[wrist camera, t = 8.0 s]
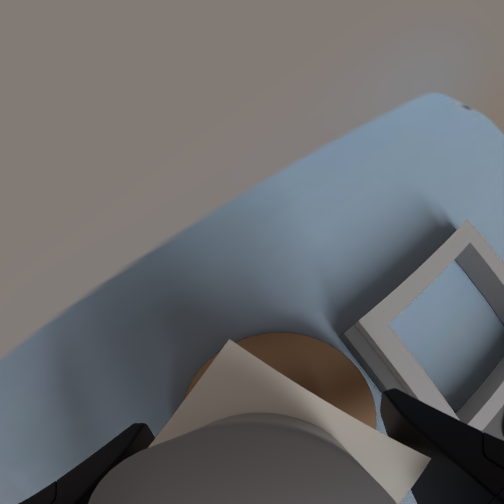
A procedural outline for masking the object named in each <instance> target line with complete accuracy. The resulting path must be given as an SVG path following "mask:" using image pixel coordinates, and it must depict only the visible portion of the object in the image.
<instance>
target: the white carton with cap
mask: <svg viewBox="0 0 504 504" xmlns="http://www.w3.org/2000/svg"><path fill="white" fill-rule="evenodd" d="M430 460H431V458H429V457H427V456H425V455H423V454H421V453H419V452H417V451H415V450H413V449H411V448H409V447H407V446H405V445H403V444H401V443H399V442H398V441H396V440H394V439H392V438H390V437H388V436H386V435H384V434H382V433H381V432H379V431H377V430H375V429H373V428H371V427H370V426H368V425H366V424H364V423H362V422H361V421H359V420H357V419H355V418H354V417H352V416H350V415H348V414H347V413H345V412H343V411H341V410H340V409H338V408H336V407H335V406H333V405H331V404H329V403H328V402H326V401H324V400H323V399H321V398H319V397H318V396H316V395H315V394H313V393H311V392H310V391H308V390H306V389H305V388H303V387H302V386H300V385H298V384H297V383H295V382H294V381H292V380H290V379H289V378H287V377H286V376H284V375H283V374H281V373H279V372H278V371H276V370H275V369H273V368H272V367H270V366H269V365H267V364H266V363H264V362H263V361H261V360H260V359H258V358H257V357H255V356H254V355H252V354H251V353H249V352H248V351H246V350H245V349H243V348H242V347H240V346H239V345H237V344H236V343H235V342H233V341H232V340H230V339H229V340H228V341H227V343H226V344H225V346H224V347H223V348H222V350H221V351H220V352H219V354H218V355H217V357H216V358H215V359H214V361H213V362H212V363H211V365H210V366H209V367H208V369H207V370H206V372H205V373H204V374H203V376H202V377H201V378H200V380H199V381H198V382H197V384H196V385H195V386H194V388H193V389H192V390H191V392H190V393H189V394H188V396H187V397H186V398H185V400H184V401H183V402H182V404H181V405H180V406H179V408H178V409H177V410H176V412H175V413H174V414H173V416H172V417H171V418H170V420H169V421H168V422H167V424H166V425H165V426H164V427H163V429H162V430H161V431H160V433H159V434H158V435H157V437H156V438H155V439H154V440H153V442H152V443H151V444H150V446H149V447H148V448H147V449H144V450H142V451H139V452H137V453H136V454H134V455H132V456H130V457H128V458H127V459H125V460H123V461H122V462H121V463H119V464H118V465H117V466H115V467H114V468H113V469H111V470H110V471H109V472H108V473H107V474H106V476H105V477H104V478H103V479H102V480H101V481H100V482H99V484H98V485H97V487H96V488H95V490H94V492H93V493H92V495H91V497H90V500H89V503H88V504H400V503H401V501H402V500H403V499H404V497H405V496H406V495H407V493H408V492H409V491H410V489H411V488H412V486H413V485H414V484H415V482H416V481H417V479H418V478H419V476H420V475H421V473H422V472H423V470H424V469H425V467H426V466H427V464H428V463H429V461H430Z"/></svg>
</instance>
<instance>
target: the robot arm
mask: <svg viewBox="0 0 504 504" xmlns="http://www.w3.org/2000/svg"><path fill="white" fill-rule="evenodd" d="M380 412H381V417H382V420H383V423H384V426H385V429H386V432H387V435H388V437H390V438H392V439H394V440H396V441H398V442H399V443H401V444H403V445H405V446H407V447H409V448H411V449H413V450H415V451H417V452H419V453H421V454H423V455H425V456H427V457H429V458H431V460H430V461H429V463H428V464H427V466H426V467H425V469H424V470H423V472H422V473H421V475H420V476H419V478H418V479H417V481H416V482H415V484H414V485H413V486H412V488H411V491H412V493H413V495H414V497H415V500H416V502H417V504H504V440H501V439H499V438H497V437H494V436H492V435H490V434H488V433H486V432H484V433H483V432H482V431H480V430H478V429H476V428H474V427H472V426H470V425H468V424H466V423H464V422H462V421H460V420H458V419H456V418H454V417H452V416H450V415H448V414H446V413H444V412H442V411H440V410H438V409H436V408H434V407H432V406H430V405H428V404H426V403H424V402H422V401H420V400H418V399H416V398H414V397H412V396H410V395H408V394H406V393H404V392H403V391H401V390H399V389H397V388H392V389H388V390H385V391H383V393H382V399H381V406H380ZM154 439H155V437H154V435H153V434H152V432H151V431H150V429H149V427H148V426H147V425H146V424H144V423H134V424H132V425H131V426H130V427H128V428H127V429H126V430H125V431H123V432H122V433H121V434H119V435H118V436H117V437H115V438H114V439H113V440H111V441H110V442H109V443H108V444H106V445H105V446H104V447H102V448H101V449H100V450H98V451H97V452H96V453H94V454H93V455H91V456H90V457H89V458H87V459H86V460H85V461H83V462H82V463H81V464H79V465H78V466H76V467H75V468H74V469H72V470H71V471H69V472H68V473H67V474H65V475H64V476H62V477H61V478H60V479H58V480H57V482H56V481H55V482H53V483H52V484H50V485H49V486H47V487H46V488H44V489H43V490H41V491H40V492H38V493H37V494H35V495H33V496H31V497H30V498H28V499H26V500H24V501H22V502H21V503H19V504H88V503H89V500H90V497H91V495H92V493H93V492H94V490H95V488H96V487H97V485H98V484H99V482H100V481H101V480H102V479H103V478H104V477H105V476H106V474H107V473H108V472H109V471H110V470H111V469H113V468H114V467H115V466H117V465H118V464H119V463H121V462H122V461H123V460H125V459H127V458H128V457H130V456H132V455H134V454H136V453H137V452H139V451H142V450H144V449H147V448H148V447H149V446H150V444H151V443H152V442H153V440H154Z"/></svg>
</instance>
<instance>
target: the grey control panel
mask: <svg viewBox="0 0 504 504" xmlns="http://www.w3.org/2000/svg"><path fill="white" fill-rule="evenodd" d="M454 259H455V260H456V261H457V263H458V264H459V265H460V266H461V268H462V269H463V270H464V271H465V273H466V274H467V275H468V276H469V278H470V279H471V280H472V281H473V283H474V284H475V285H476V287H477V288H478V289H479V291H480V292H481V293H482V295H483V296H484V297H485V299H486V300H487V301H488V303H489V304H490V305H491V307H492V308H493V310H494V311H495V312H496V314H497V315H498V317H499V318H500V320H501V321H502V323H503V324H504V263H503V262H502V261H501V259H500V258H499V257H498V255H497V254H496V253H495V252H494V250H493V249H492V248H491V247H490V245H489V244H488V243H487V242H486V240H485V239H484V238H483V237H482V236H481V234H480V233H479V232H478V231H477V230H476V228H475V227H474V226H473V225H472V224H471V223H470V222H469V220H468V219H467V220H466V221H465V222H464V223H463V224H462V225H461V226H460V227H459V228H458V229H457V230H456V231H455V232H454V233H453V234H452V236H451V237H450V238H449V239H448V240H447V241H446V242H445V243H444V244H443V245H442V246H441V247H440V248H439V249H438V250H437V251H436V252H435V253H433V254H432V255H431V256H430V257H429V258H428V259H427V260H426V261H425V262H424V263H423V264H422V265H421V266H420V267H419V268H418V269H417V270H416V271H415V272H414V273H412V274H411V275H410V276H409V277H408V278H407V279H406V280H405V281H404V282H403V283H402V284H400V285H399V286H398V287H397V288H396V289H395V290H394V291H393V292H391V293H390V294H389V295H388V296H387V297H386V298H385V299H383V300H382V301H381V302H380V303H379V304H378V305H376V306H375V307H374V308H373V309H372V310H371V311H369V312H368V313H367V314H366V315H365V316H363V317H362V318H361V319H360V320H359V321H357V322H356V323H355V324H354V325H353V326H352V327H351V328H349V329H348V330H347V331H346V332H344V333H343V334H342V335H341V336H340V337H339V338H340V339H341V340H342V342H343V343H344V344H345V345H346V347H347V348H348V349H349V351H350V352H351V353H352V354H353V356H354V357H355V358H356V360H357V361H358V362H359V363H360V365H361V366H362V367H363V369H364V370H365V371H366V373H367V374H368V375H369V376H370V378H371V379H372V380H373V382H374V383H375V384H376V386H377V387H378V388H379V389H380V391H381V392H382V393H383V391H385V390H388V389H392V388H397V389H399V390H401V391H403V392H404V393H406V394H408V395H410V396H412V397H414V398H416V399H418V400H420V401H422V402H424V403H426V404H428V405H430V406H432V407H434V408H436V409H438V410H440V411H442V412H444V413H446V414H448V415H450V416H452V417H454V418H456V419H458V420H460V421H462V422H464V423H466V424H468V425H470V426H472V427H474V428H476V429H478V430H480V431H482V432H483V433H484V432H486V433H488V434H490V435H492V436H494V437H497V438H499V439H501V440H504V356H503V358H502V359H501V360H500V362H499V363H498V364H497V366H496V367H495V368H494V369H493V371H492V372H491V373H490V375H489V376H488V377H487V378H486V379H485V381H484V382H483V383H482V384H481V386H480V387H479V388H478V389H477V390H476V391H475V393H474V394H473V395H472V396H471V397H470V398H469V399H468V401H467V402H466V403H465V404H464V405H463V406H462V407H461V408H460V409H459V410H458V412H457V413H456V414H455V413H454V411H453V410H452V408H451V407H450V406H449V404H448V403H447V401H446V400H445V399H444V397H443V396H442V394H441V393H440V392H439V390H438V389H437V388H436V386H435V385H434V383H433V382H432V381H431V379H430V378H429V377H428V375H427V374H426V373H425V371H424V370H423V369H422V367H421V366H420V365H419V363H418V362H417V361H416V359H415V358H414V357H413V355H412V354H411V353H410V351H409V350H408V349H407V347H406V346H405V345H404V344H403V342H402V341H401V340H400V338H399V337H398V336H397V335H396V333H395V332H394V331H393V329H392V328H391V327H390V326H389V323H390V322H391V321H392V320H393V319H394V318H395V317H396V316H398V315H399V314H400V313H401V312H402V311H403V310H404V309H405V308H406V307H407V306H408V305H409V304H411V303H412V302H413V301H414V300H415V299H416V298H417V297H418V296H419V295H420V294H421V293H422V292H423V291H424V290H425V289H426V288H427V287H428V286H429V285H430V284H431V283H432V282H433V281H434V280H435V279H436V278H437V277H438V276H439V275H440V274H441V273H442V272H443V271H444V270H445V269H446V268H447V267H448V266H449V265H450V264H451V263H452V262H453V260H454Z"/></svg>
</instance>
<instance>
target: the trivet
mask: <svg viewBox="0 0 504 504" xmlns="http://www.w3.org/2000/svg"><path fill="white" fill-rule="evenodd" d="M235 343H236V344H237V345H239V346H240V347H242V348H243V349H245V350H246V351H248V352H249V353H251V354H252V355H254V356H255V357H257V358H258V359H260V360H261V361H263V362H264V363H266V364H267V365H269V366H270V367H272V368H273V369H275V370H276V371H278V372H279V373H281V374H283V375H284V376H286V377H287V378H289V379H290V380H292V381H294V382H295V383H297V384H298V385H300V386H302V387H303V388H305V389H306V390H308V391H310V392H311V393H313V394H315V395H316V396H318V397H319V398H321V399H323V400H324V401H326V402H328V403H329V404H331V405H333V406H335V407H336V408H338V409H340V410H341V411H343V412H345V413H347V414H348V415H350V416H352V417H354V418H355V419H357V420H359V421H361V422H362V423H364V424H366V425H368V426H370V427H371V428H373V429H375V430H376V410H375V403H374V400H373V396H372V393H371V390H370V388H369V386H368V384H367V382H366V380H365V378H364V377H363V375H362V374H361V372H360V371H359V369H358V368H357V367H356V366H355V365H354V364H353V363H352V361H351V360H350V359H348V358H347V357H346V356H345V355H344V354H343V353H341V352H340V351H338V350H337V349H335V348H334V347H332V346H331V345H329V344H327V343H325V342H323V341H321V340H318V339H315V338H312V337H309V336H305V335H300V334H296V333H284V332H278V333H265V334H259V335H255V336H251V337H248V338H244V339H242V340H240V341H237V342H235ZM219 352H220V351H219ZM219 352H218V353H217V354H215V355H214V356H213V357H211V358H210V359H209V360H208V361H207V362H206V363H205V364H204V365H203V366H202V368H201V369H200V370H199V371H198V373H197V374H196V375H195V377H194V379H193V380H192V382H191V384H190V385H189V387H188V390H187V392H186V394H185V397H184V400H185V398H186V397H187V396H188V394H189V393H190V392H191V390H192V389H193V388H194V386H195V385H196V384H197V382H198V381H199V380H200V378H201V377H202V376H203V374H204V373H205V372H206V370H207V369H208V367H209V366H210V365H211V363H212V362H213V361H214V359H215V358H216V357H217V355H218V354H219ZM184 400H183V401H184Z"/></svg>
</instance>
